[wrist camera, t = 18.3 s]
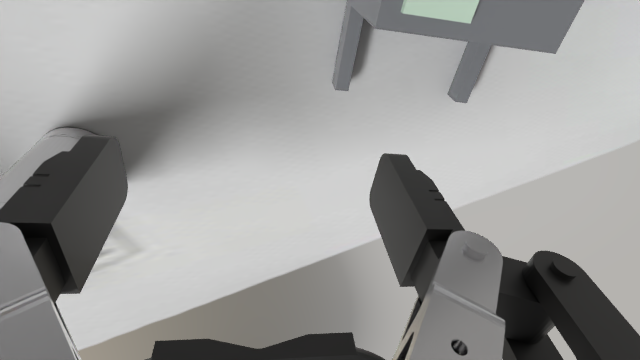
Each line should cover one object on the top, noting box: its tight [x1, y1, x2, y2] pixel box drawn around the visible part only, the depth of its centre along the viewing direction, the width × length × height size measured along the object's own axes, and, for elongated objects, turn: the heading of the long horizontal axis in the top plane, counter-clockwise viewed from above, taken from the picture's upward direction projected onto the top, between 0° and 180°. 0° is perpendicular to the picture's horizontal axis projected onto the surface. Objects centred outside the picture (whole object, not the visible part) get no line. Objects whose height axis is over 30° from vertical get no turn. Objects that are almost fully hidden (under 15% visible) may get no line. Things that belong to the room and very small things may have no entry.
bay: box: [332, 0, 584, 103], centre depth 35 cm, size 15×18×13 cm
